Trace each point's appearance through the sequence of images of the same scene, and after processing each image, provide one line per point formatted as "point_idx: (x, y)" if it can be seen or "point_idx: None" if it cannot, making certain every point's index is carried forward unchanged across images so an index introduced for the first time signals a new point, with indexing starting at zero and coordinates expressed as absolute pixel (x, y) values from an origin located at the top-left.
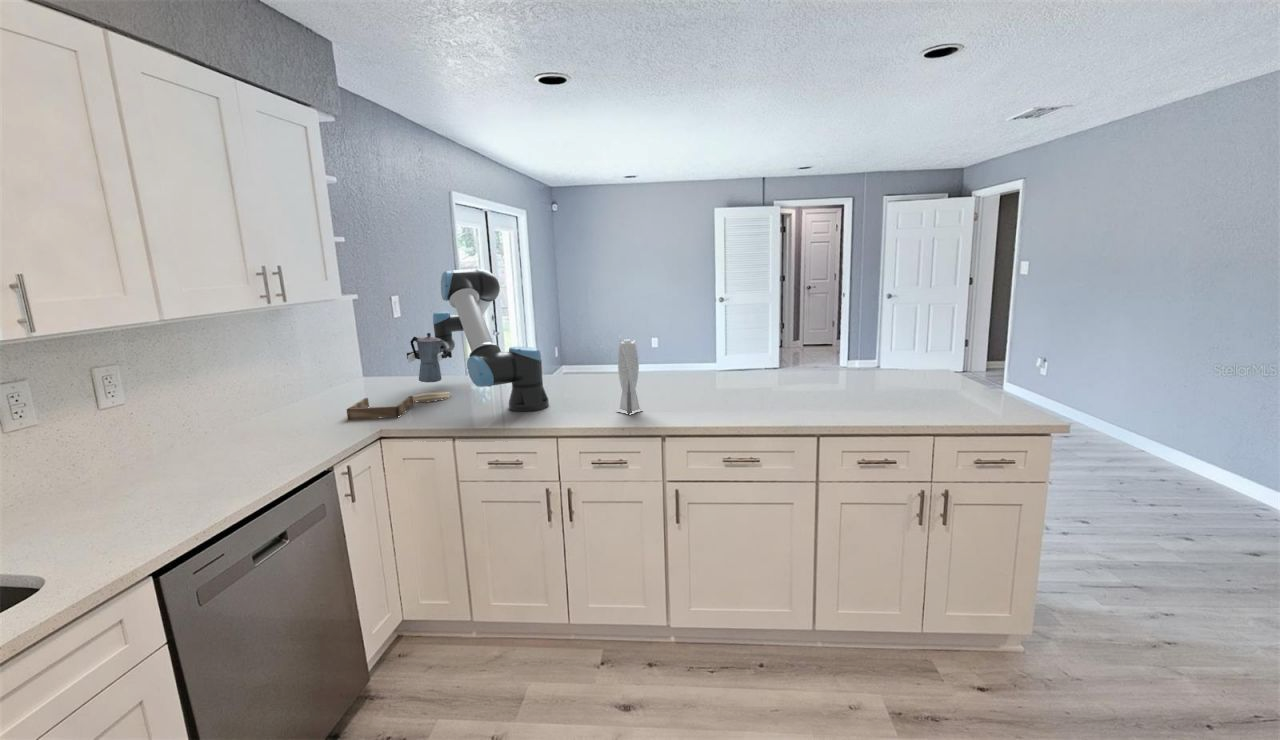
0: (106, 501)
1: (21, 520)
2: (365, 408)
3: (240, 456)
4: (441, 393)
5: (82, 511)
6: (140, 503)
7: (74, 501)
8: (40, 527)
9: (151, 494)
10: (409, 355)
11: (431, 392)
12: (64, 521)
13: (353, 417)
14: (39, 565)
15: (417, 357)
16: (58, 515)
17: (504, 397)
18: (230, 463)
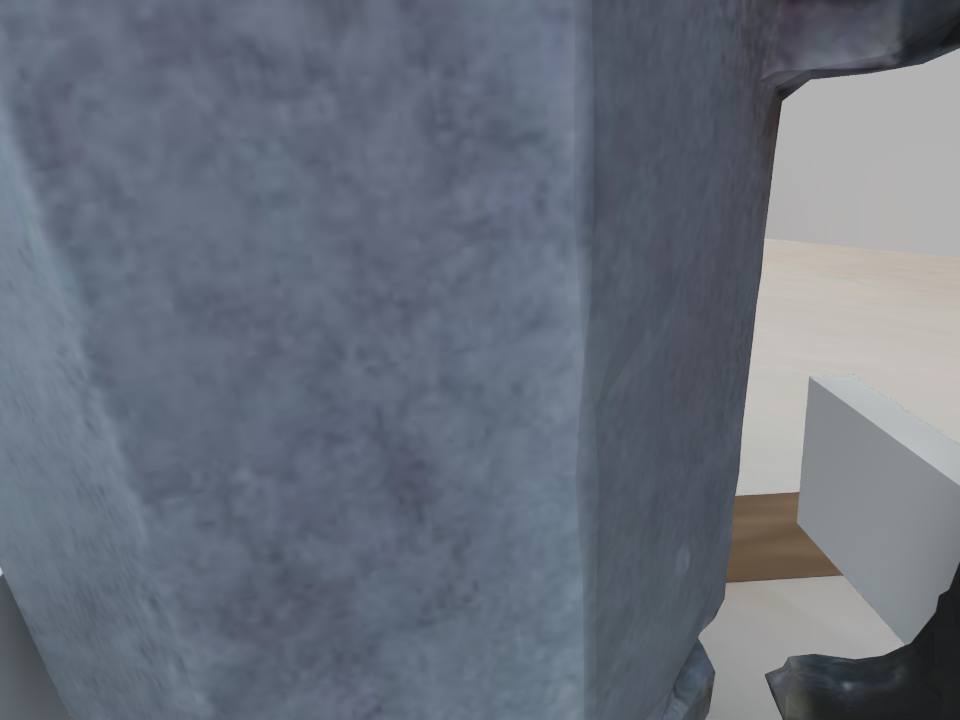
0: (854, 271)
1: (907, 255)
2: (756, 495)
3: (858, 345)
4: None
5: (841, 262)
6: (767, 271)
7: (926, 271)
8: (832, 251)
9: (797, 279)
10: (863, 398)
11: None
12: (820, 255)
13: None
14: None
15: (876, 662)
16: (866, 259)
17: None
18: (821, 328)
